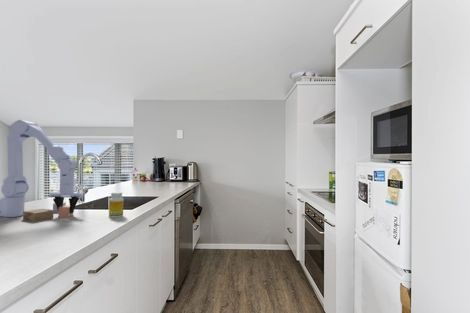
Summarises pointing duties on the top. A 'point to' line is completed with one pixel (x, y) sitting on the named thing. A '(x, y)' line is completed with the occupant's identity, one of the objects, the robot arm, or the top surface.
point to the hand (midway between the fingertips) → (66, 212)
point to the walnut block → (37, 215)
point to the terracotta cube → (64, 211)
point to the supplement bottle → (116, 205)
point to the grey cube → (56, 207)
